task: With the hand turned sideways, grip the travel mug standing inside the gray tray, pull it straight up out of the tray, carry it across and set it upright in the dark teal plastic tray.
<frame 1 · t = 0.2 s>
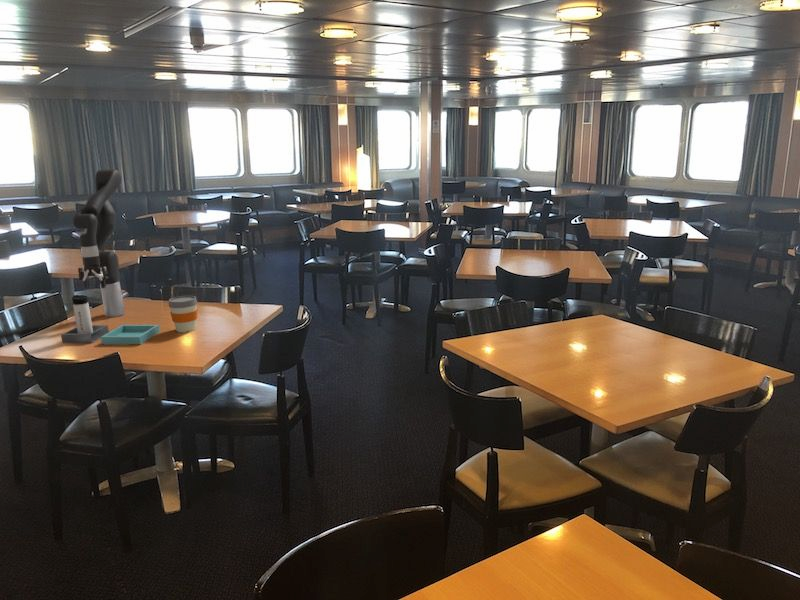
hand: (95, 288, 303), 18 cm above the table, tool pointing down, fingers open, 8 cm apart
travel mug: (86, 338, 283), resting in gray tray
teal tray: (131, 338, 281), on the table
gray tray: (86, 338, 283), on the table
reusable coffee cup: (186, 330, 292), on the table
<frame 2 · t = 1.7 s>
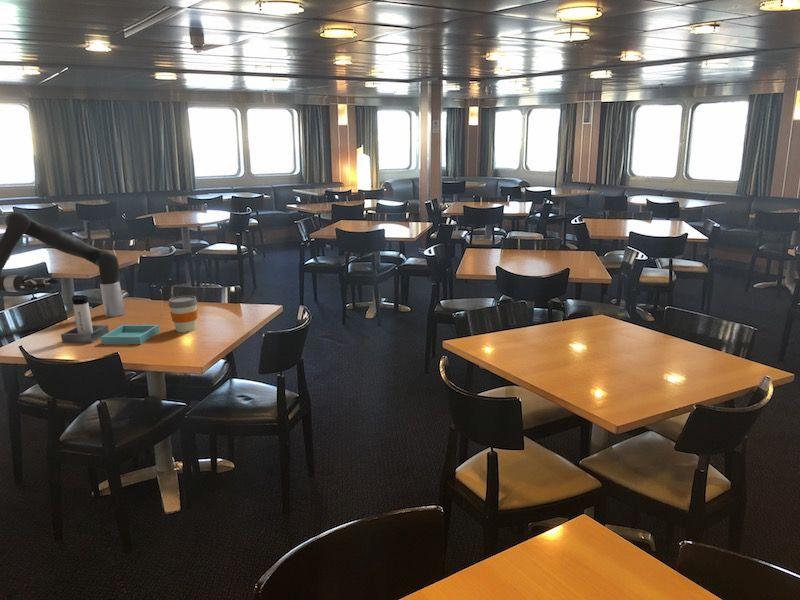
hand: (51, 283, 278), 26 cm above the table, tool horizontal, fingers open, 8 cm apart
nothing on the table moved.
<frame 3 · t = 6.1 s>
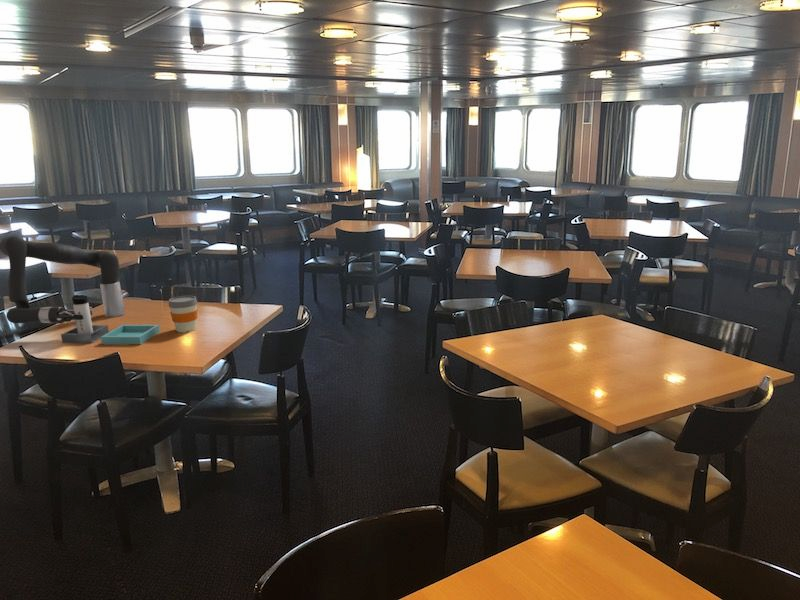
hand: (87, 314, 280), 11 cm above the table, tool horizontal, fingers closed on travel mug, 6 cm apart
travel mug: (86, 338, 283), resting in gray tray, touching gripper
everything else where it was.
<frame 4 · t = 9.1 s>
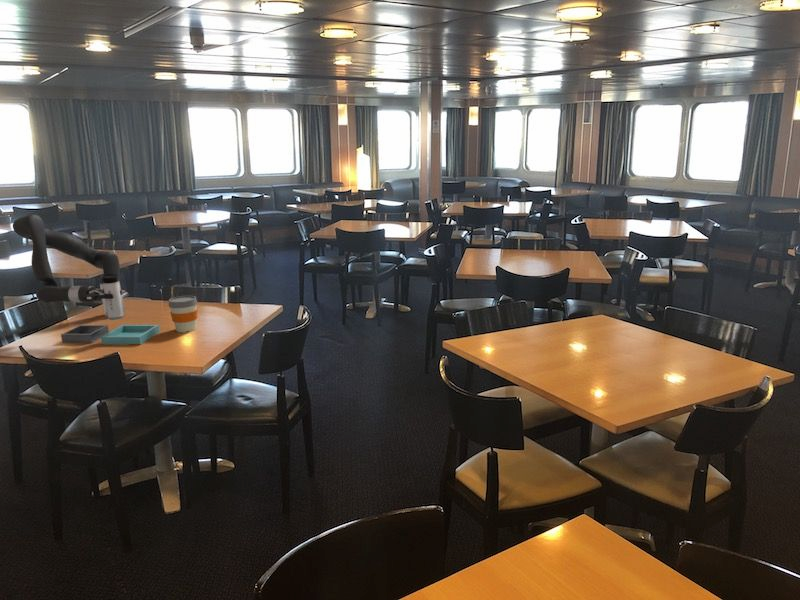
hand: (117, 294, 276), 21 cm above the table, tool horizontal, fingers closed on travel mug, 6 cm apart
travel mug: (115, 318, 279), point 10 cm above the table, touching gripper
everything else where it was.
when the fingers open (13 cm above the table, at t = 11.9 s): travel mug drops 1 cm, resting on teal tray.
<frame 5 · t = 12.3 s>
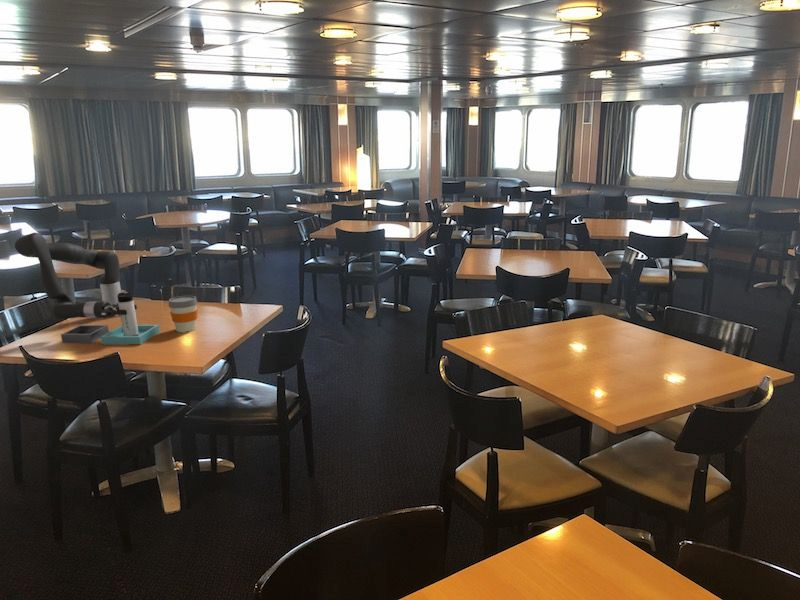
hand: (131, 309, 277), 13 cm above the table, tool horizontal, fingers open, 8 cm apart
travel mug: (131, 336, 281), point 1 cm above the table, touching teal tray
everything else where it was.
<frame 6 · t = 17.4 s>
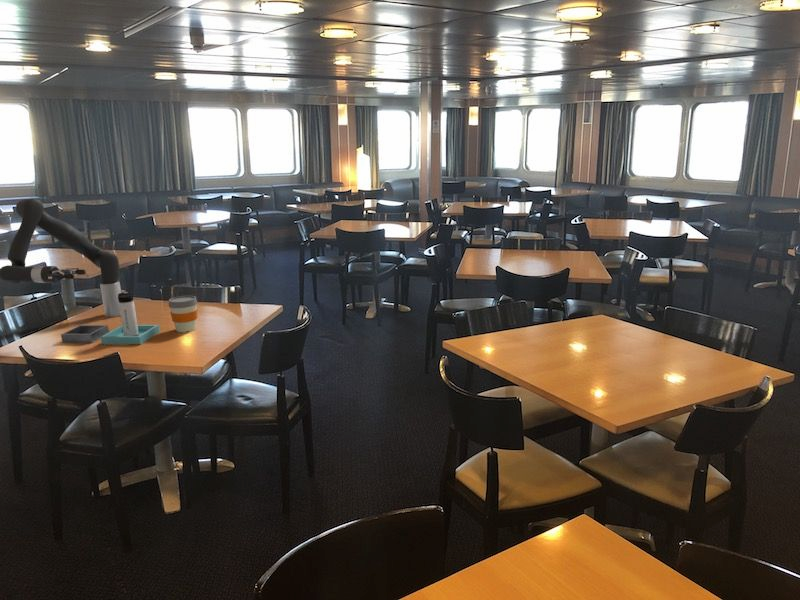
hand: (79, 274, 276), 30 cm above the table, tool horizontal, fingers open, 8 cm apart
nothing on the table moved.
at the end: travel mug inside the target area on the teal tray (0.2 cm from its centre), point 0.6 cm above the teal tray's base; travel mug tilted 0°; the gripper is holding nothing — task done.
